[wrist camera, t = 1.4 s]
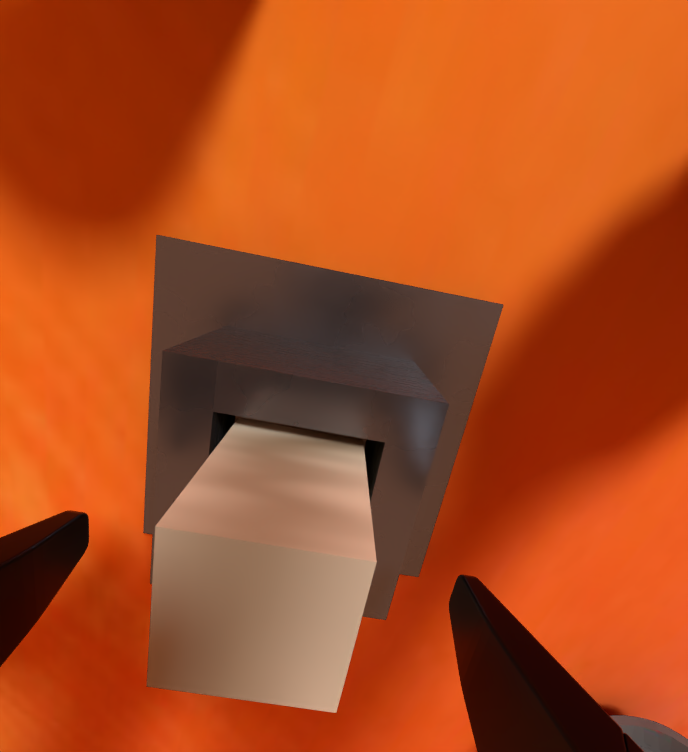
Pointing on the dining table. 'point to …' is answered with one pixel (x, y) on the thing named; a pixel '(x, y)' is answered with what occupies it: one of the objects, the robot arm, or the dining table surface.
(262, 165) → the dining table surface
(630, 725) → the bluetooth speaker
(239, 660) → the column
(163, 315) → the stand base
